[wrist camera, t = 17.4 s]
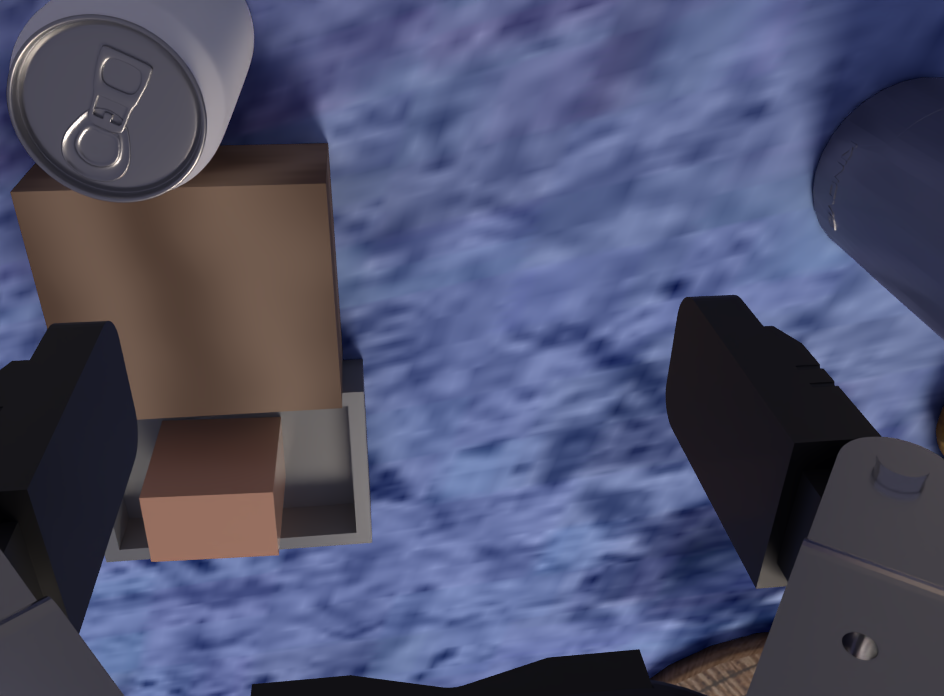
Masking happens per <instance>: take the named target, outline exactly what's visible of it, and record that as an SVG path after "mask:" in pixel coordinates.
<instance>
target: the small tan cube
mask: <svg viewBox="0 0 944 696" xmlns="http://www.w3.org/2000/svg"><path fill="white" fill-rule="evenodd" d="M285 479H286V473H285V460H284V448H283V435H282V423H281V417H261V418H231V419H200V420H169V421H162V423H161V426H160V430H159V433H158V437H157V440H156V443H155V447H154V450H153V453H152V457H151V460H150V463H149V467H148V470H147V473H146V477H145V480H144V483H143V487H142V490H141V493H140V497H139V500H140V505H141V511H142V516H143V521H144V526H145V531H146V536H147V541H148V547H149V552H150V557H151V562H158V561H177V560H196V559H215V558H234V557H253V556H272V555H279V547H280V536H281V524H282V513H283V502H284V491H285Z"/></svg>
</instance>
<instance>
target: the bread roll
mask: <svg viewBox="0 0 944 696" xmlns="http://www.w3.org/2000/svg"><path fill="white" fill-rule="evenodd" d="M936 437H937V443H938V446H939V449H940V450H941V452H942V454H943V455H944V406H943V408H942V411H941V414H940V416H939V419H938V423H937V426H936Z"/></svg>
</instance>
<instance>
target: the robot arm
mask: <svg viewBox="0 0 944 696" xmlns="http://www.w3.org/2000/svg"><path fill="white" fill-rule="evenodd" d="M813 199H814V210H815V212H816V215H817V218H818V221H819V224H820V226H821V227H822V228H823V230H824V231H825V233H826V234H827V235H828V237H829V238H830V239H831V240H832V241H834V242H835V243H836V244H837V245H838V246H839V247H840V248H841V249H843V250H844V251H845V252H846V253H847V254H848V255H849V256H850V257H852V258H853V259H854V260H855V261H856V262H857V263H858V264H859V265H860V266H862V267H863V268H864V269H865V270H866V271H867V272H868V273H869V274H870V275H871V276H872V277H873V278H874V279H876V280H877V281H878V282H879V283H880V284H881V285H882V286H883V287H885V288H886V289H887V290H888V291H889V292H890V293H891V294H892V295H894V296H895V297H896V298H897V299H898V300H899V301H900V302H901V303H903V304H904V305H905V306H906V307H907V308H908V309H909V310H910V311H912V312H913V313H914V314H915V315H916V316H917V317H918V318H919V319H921V320H922V321H923V322H924V323H925V324H926V325H927V326H928V327H930V328H931V329H932V330H933V331H934V332H935V333H936V334H937V335H939V336H940V337H941V338H942V339H943V340H944V78H918V79H913V80H909V81H904V82H900V83H898V84H896V85H893V86H891V87H889V88H887V89H884V90H882V91H880V92H879V93H877V94H876V95H874V96H873V97H871V98H869V99H868V100H866V101H865V102H863V103H862V104H861V105H860V106H859V107H858V108H857V109H855V110H854V111H853V112H852V113H851V114H850V115H849V116H848V117H847V118H846V119H845V120H844V121H843V123H842V124H841V125H840V126H839V128H838V129H837V130H836V131H835V133H834V134H833V135H832V137H831V139H830V140H829V142H828V144H827V146H826V148H825V149H824V151H823V153H822V155H821V158H820V161H819V164H818V167H817V170H816V173H815V179H814V187H813ZM666 408H667V414H668V419H669V422H670V425H671V427H672V430H673V432H674V433H675V435H676V437H677V439H678V441H679V443H680V445H681V447H682V449H683V451H684V452H685V454H686V456H687V458H688V460H689V462H690V464H691V466H692V468H693V470H694V471H695V473H696V475H697V477H698V479H699V481H700V483H701V485H702V487H703V489H704V490H705V492H706V494H707V496H708V498H709V500H710V502H711V504H712V506H713V508H714V509H715V511H716V513H717V515H718V517H719V519H720V521H721V523H722V525H723V527H724V528H725V530H726V532H727V534H728V536H729V538H730V540H731V542H732V544H733V546H734V547H735V549H736V551H737V553H738V555H739V557H740V559H741V561H742V563H743V565H744V566H745V568H746V570H747V572H748V574H749V576H750V578H751V580H752V582H753V584H754V585H755V587H756V589H757V588H769V587H781V586H786V588H785V591H784V594H783V597H782V599H781V602H780V605H779V607H778V610H777V613H776V616H775V618H774V621H773V624H772V626H771V629H770V632H769V635H768V637H767V640H766V643H765V645H764V648H763V651H762V653H761V656H760V659H759V662H758V664H757V667H756V670H755V672H754V675H753V678H752V681H751V683H750V686H749V689H748V691H747V694H746V696H944V459H943V458H942V457H940V456H939V455H937V454H935V453H934V452H932V451H930V450H928V449H926V448H923V447H921V446H919V445H916V444H913V443H910V442H907V441H903V440H899V439H894V438H888V437H881V436H880V434H879V433H878V432H877V431H876V430H875V429H874V427H873V426H872V425H871V424H870V423H869V422H868V420H867V419H866V418H865V417H864V416H863V414H862V413H861V412H860V411H859V410H858V409H857V407H856V406H855V405H854V404H853V403H852V402H851V400H850V399H849V398H848V397H847V396H846V395H845V393H844V392H843V391H842V390H841V389H840V388H839V386H835V385H834V380H833V379H832V378H831V377H830V376H829V375H828V373H827V372H826V371H825V370H824V369H820V364H819V363H818V362H817V361H816V359H815V358H814V357H813V356H812V355H811V354H810V352H809V351H808V350H807V349H806V348H805V346H804V345H803V344H802V343H800V342H799V341H797V340H795V339H794V338H792V337H790V336H789V335H787V334H785V333H784V332H782V331H780V330H779V329H777V328H775V327H774V326H763V325H762V324H761V323H760V322H759V320H758V319H757V318H756V317H755V315H754V314H753V313H752V312H751V310H750V309H749V308H748V307H747V305H746V304H745V303H744V302H743V301H742V299H741V298H740V297H739V296H737V295H722V296H699V297H686V298H684V299H683V301H682V302H681V304H680V307H679V311H678V316H677V322H676V328H675V334H674V340H673V347H672V353H671V359H670V365H669V372H668V378H667V384H666ZM137 447H138V424H137V416H136V411H135V406H134V402H133V397H132V393H131V388H130V384H129V380H128V375H127V371H126V366H125V362H124V357H123V353H122V348H121V344H120V339H119V335H118V332H117V329H116V327H115V325H114V324H113V323H112V322H111V321H93V322H70V323H53V324H51V325H50V326H49V328H48V329H47V331H46V333H45V335H44V336H43V338H42V340H41V342H40V343H39V345H38V347H37V349H36V350H35V352H34V354H33V356H32V357H31V359H30V360H23V361H12V362H10V363H9V364H8V365H6V366H5V367H4V368H2V369H1V370H0V696H124V695H123V694H122V692H121V691H120V689H119V688H118V687H117V685H116V684H115V683H114V681H113V680H112V679H111V677H110V676H109V674H108V673H107V672H106V670H105V669H104V668H103V666H102V665H101V664H100V662H99V661H98V659H97V658H96V657H95V655H94V654H93V653H92V651H91V650H90V649H89V647H88V646H87V644H86V643H85V642H84V640H83V639H82V638H81V636H80V635H79V632H80V629H81V626H82V623H83V620H84V617H85V614H86V611H87V608H88V604H89V601H90V598H91V595H92V592H93V589H94V586H95V583H96V580H97V577H98V573H99V570H100V567H101V564H102V561H103V558H104V555H105V552H106V549H107V546H108V542H109V539H110V536H111V533H112V530H113V527H114V524H115V521H116V518H117V515H118V511H119V508H120V505H121V502H122V499H123V496H124V493H125V490H126V487H127V484H128V480H129V477H130V474H131V471H132V468H133V465H134V462H135V458H136V454H137ZM251 696H707V695H705V694H702V693H699V692H697V691H694V690H691V689H688V688H685V687H682V686H678V685H674V684H670V683H665V682H661V681H655V680H650V678H649V676H648V673H647V670H646V667H645V664H644V661H643V658H642V656H641V653H640V650H628V651H617V652H605V653H594V654H583V655H572V656H561V657H550V658H545V659H542V660H539V661H536V662H533V663H530V664H527V665H524V666H521V667H518V668H515V669H512V670H509V671H506V672H503V673H500V674H497V675H494V676H491V677H488V678H485V679H482V680H479V681H476V682H473V683H470V684H467V685H464V686H460V687H454V688H443V687H435V686H427V685H420V684H412V683H405V682H397V681H389V680H382V679H374V678H367V677H359V676H352V675H350V676H339V677H328V678H317V679H305V680H294V681H283V682H272V683H261V684H252V690H251Z"/></svg>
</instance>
